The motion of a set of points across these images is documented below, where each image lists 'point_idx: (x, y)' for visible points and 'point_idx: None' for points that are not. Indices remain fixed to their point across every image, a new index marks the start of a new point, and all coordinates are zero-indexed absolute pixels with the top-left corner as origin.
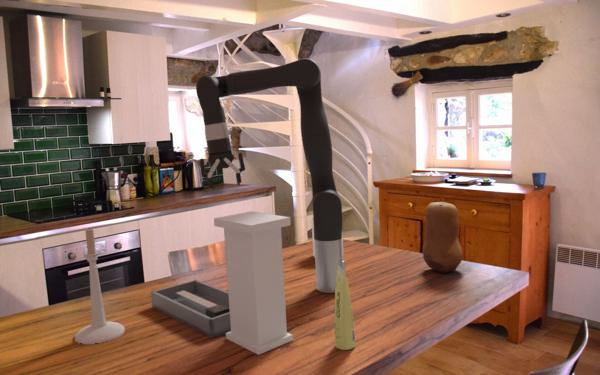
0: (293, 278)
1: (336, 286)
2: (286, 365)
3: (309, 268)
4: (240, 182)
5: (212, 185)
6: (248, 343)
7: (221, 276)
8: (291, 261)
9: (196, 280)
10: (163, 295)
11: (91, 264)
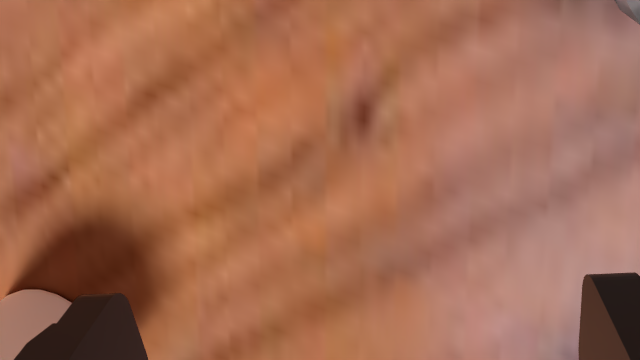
0: (167, 110)
1: None
2: None
3: (111, 219)
4: (56, 327)
5: (631, 315)
6: None
7: (481, 240)
8: (185, 329)
9: (638, 5)
10: None
11: None
